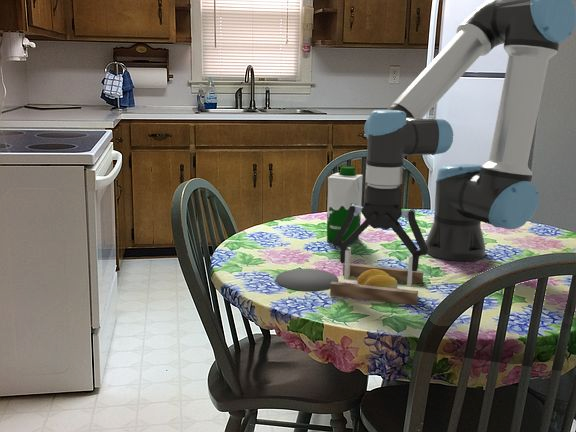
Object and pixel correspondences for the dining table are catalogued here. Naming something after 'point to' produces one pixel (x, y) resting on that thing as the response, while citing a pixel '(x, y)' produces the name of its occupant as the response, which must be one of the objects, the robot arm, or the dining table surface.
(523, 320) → the dining table surface
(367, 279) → the bread roll
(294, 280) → the mat
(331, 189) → the milk carton
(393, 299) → the chute
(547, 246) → the dining table surface
